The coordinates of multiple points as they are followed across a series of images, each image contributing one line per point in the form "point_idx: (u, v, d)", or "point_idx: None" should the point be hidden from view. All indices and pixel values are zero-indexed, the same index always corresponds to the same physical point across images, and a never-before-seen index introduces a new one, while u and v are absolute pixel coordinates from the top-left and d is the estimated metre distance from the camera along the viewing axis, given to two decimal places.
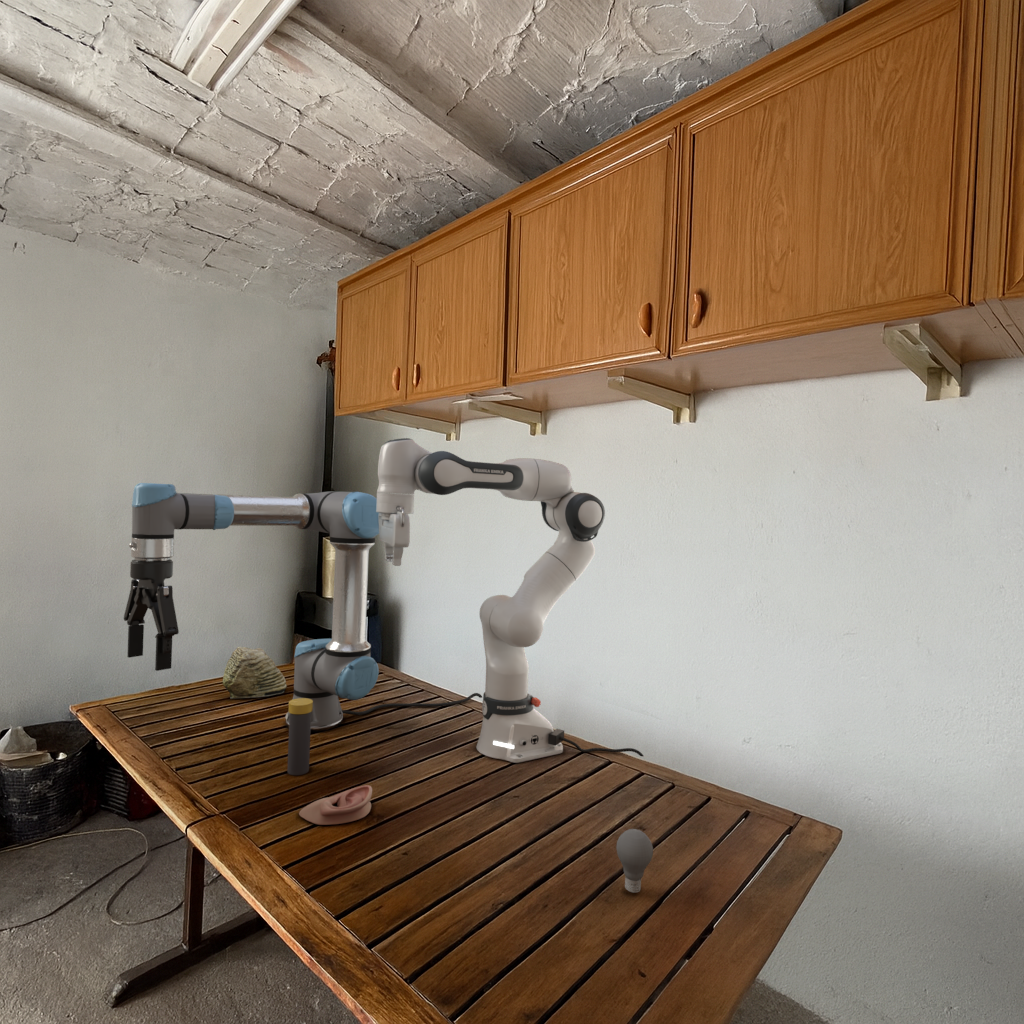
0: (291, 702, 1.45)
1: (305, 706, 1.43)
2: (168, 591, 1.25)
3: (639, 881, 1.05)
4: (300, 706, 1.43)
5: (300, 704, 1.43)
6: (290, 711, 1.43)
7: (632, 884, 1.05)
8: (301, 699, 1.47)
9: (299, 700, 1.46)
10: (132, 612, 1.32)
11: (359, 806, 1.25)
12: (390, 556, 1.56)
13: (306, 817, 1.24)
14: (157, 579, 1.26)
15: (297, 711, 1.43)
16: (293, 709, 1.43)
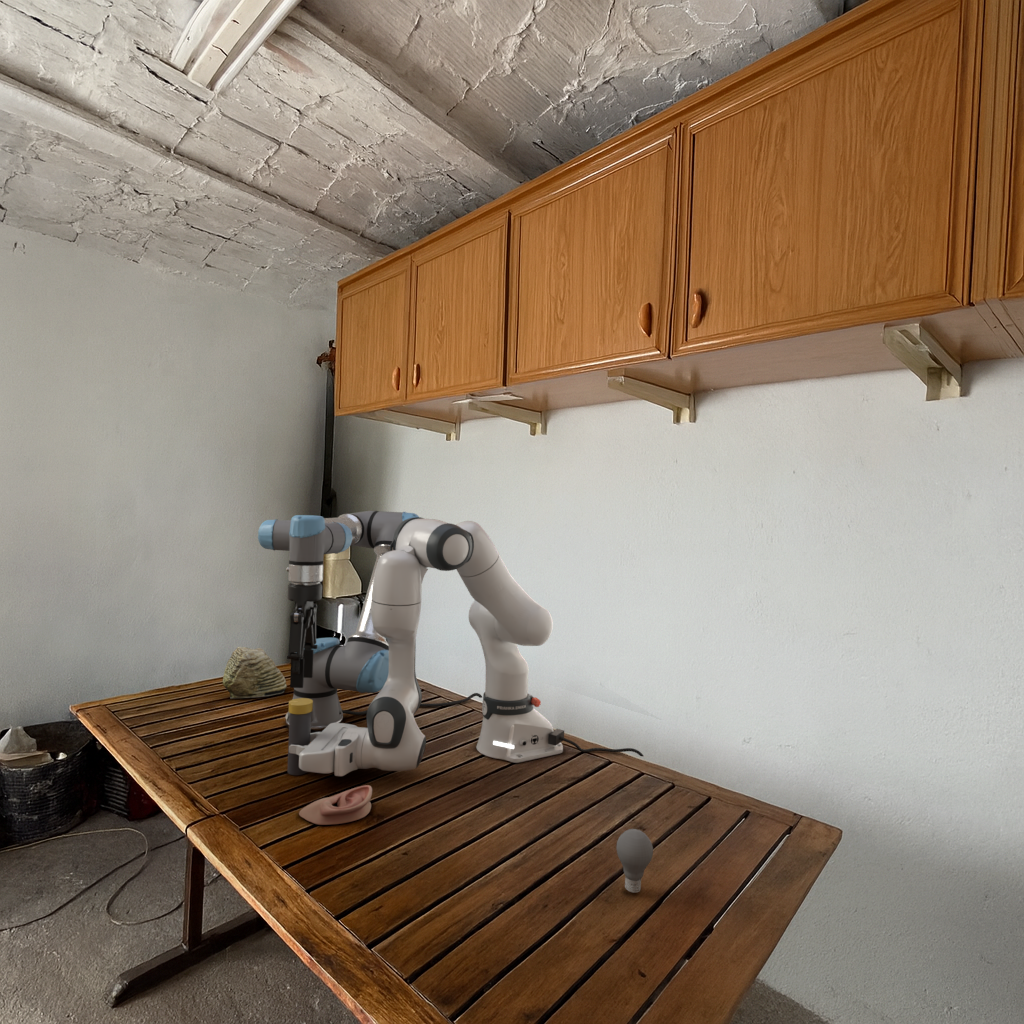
0: (291, 702, 1.45)
1: (305, 706, 1.43)
2: (298, 619, 1.38)
3: (639, 881, 1.05)
4: (300, 706, 1.43)
5: (301, 704, 1.43)
6: (290, 711, 1.43)
7: (632, 884, 1.05)
8: (301, 699, 1.47)
9: (299, 700, 1.46)
10: None
11: (359, 806, 1.25)
12: None
13: (306, 817, 1.24)
14: (298, 602, 1.41)
15: (297, 711, 1.43)
16: (294, 709, 1.43)
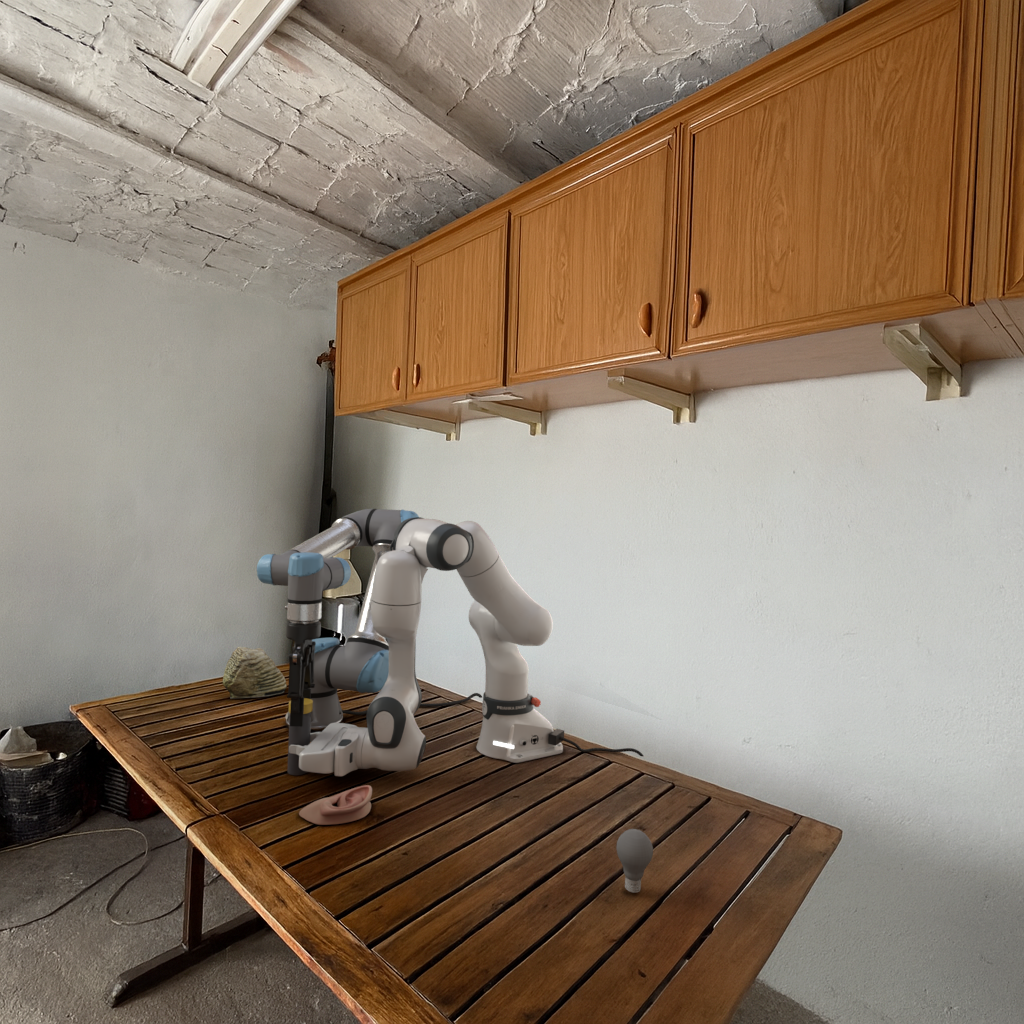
0: None
1: (305, 706, 1.43)
2: (296, 660, 1.39)
3: (639, 881, 1.05)
4: None
5: None
6: None
7: (632, 884, 1.05)
8: None
9: None
10: None
11: (359, 806, 1.25)
12: None
13: (306, 817, 1.24)
14: (297, 640, 1.41)
15: None
16: None
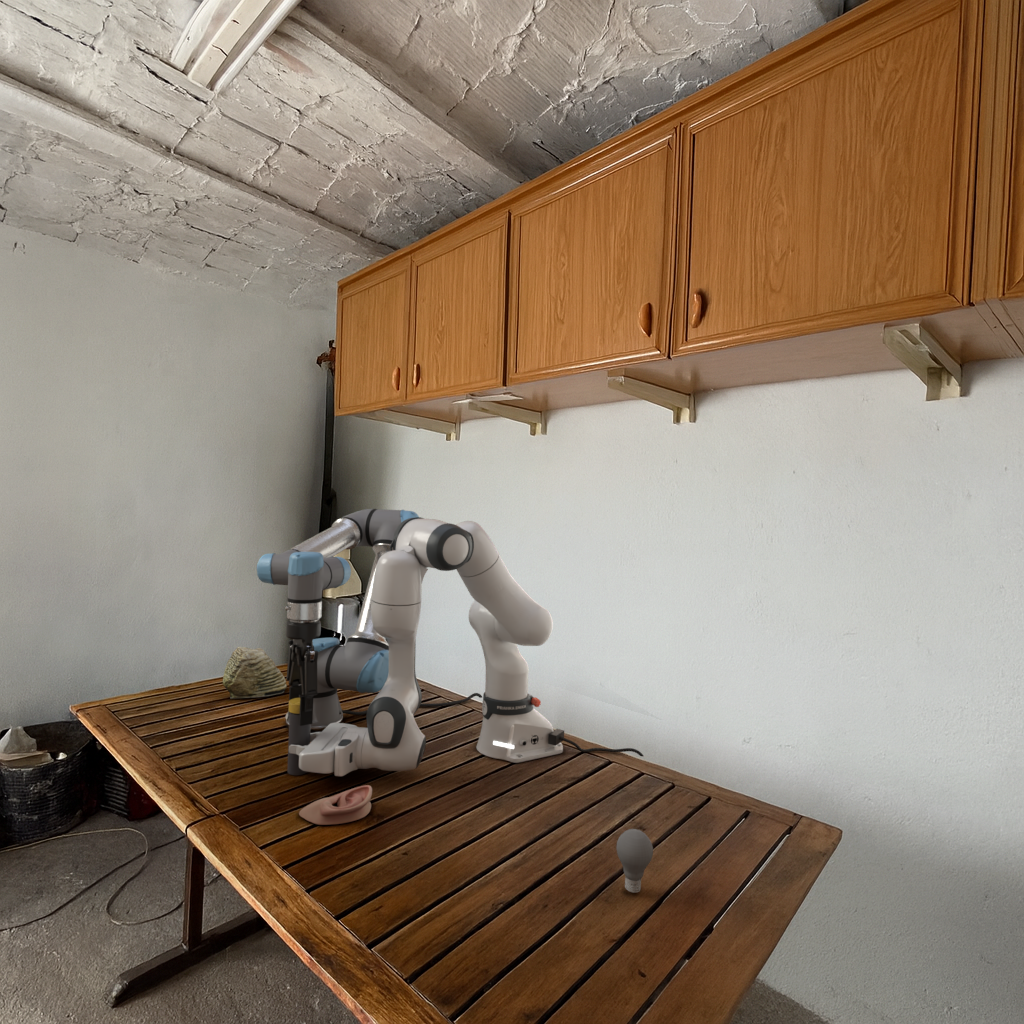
0: (299, 703, 1.43)
1: None
2: (314, 656, 1.40)
3: (639, 881, 1.05)
4: None
5: None
6: None
7: (632, 884, 1.05)
8: (293, 700, 1.45)
9: (296, 701, 1.45)
10: (291, 671, 1.48)
11: (359, 806, 1.25)
12: None
13: (306, 817, 1.24)
14: (307, 639, 1.42)
15: None
16: None
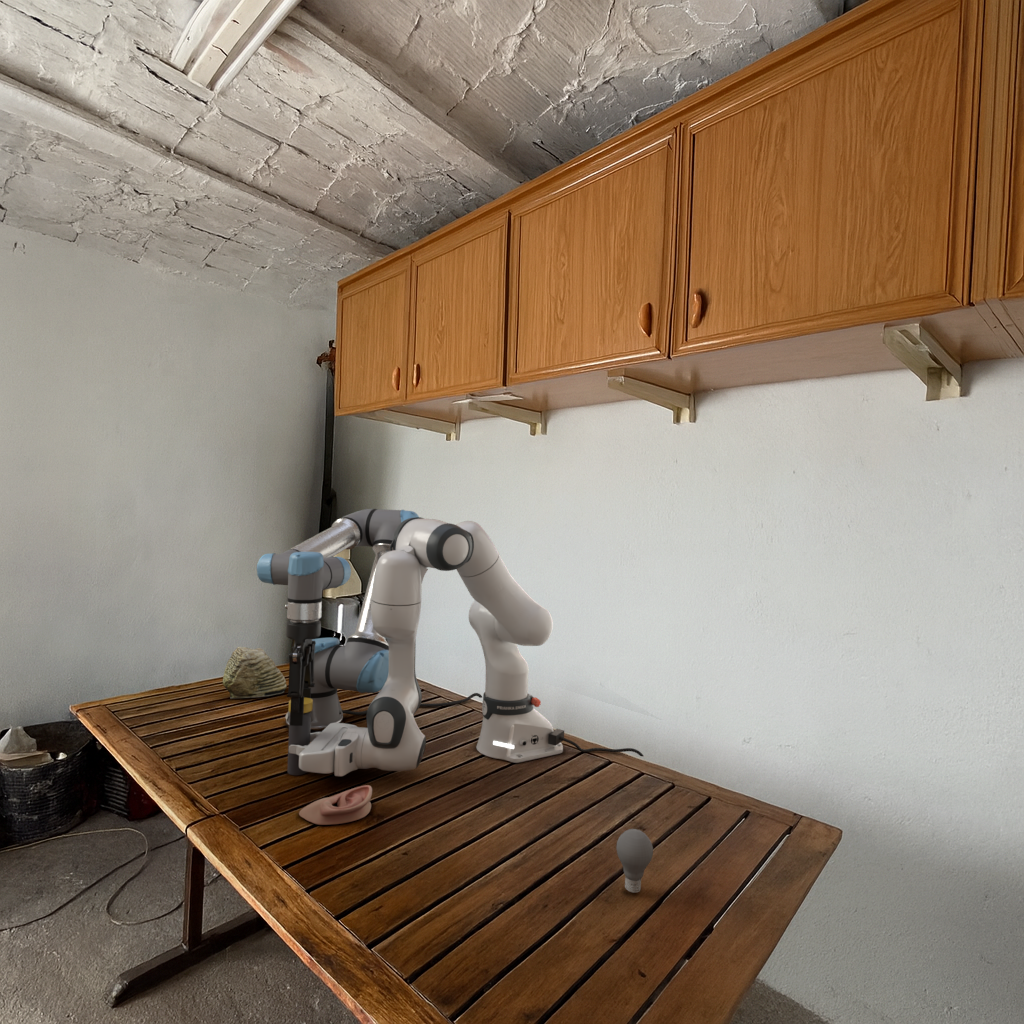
0: None
1: (312, 701, 1.47)
2: (296, 659, 1.39)
3: (639, 881, 1.05)
4: (312, 702, 1.46)
5: (309, 701, 1.46)
6: (304, 711, 1.43)
7: (632, 884, 1.05)
8: None
9: None
10: None
11: (359, 806, 1.25)
12: None
13: (306, 817, 1.24)
14: (297, 640, 1.41)
15: (311, 708, 1.45)
16: (308, 707, 1.44)
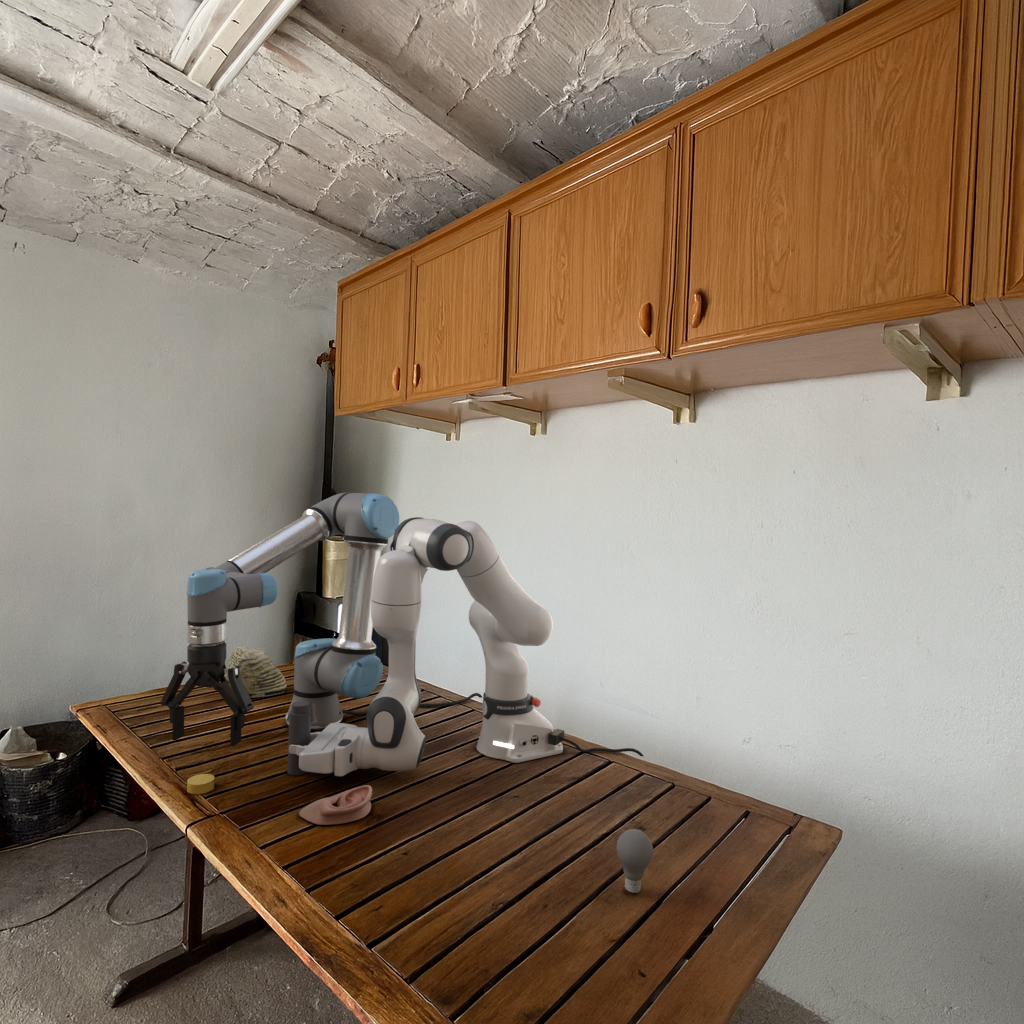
0: (210, 779, 1.35)
1: None
2: (237, 671, 1.34)
3: (639, 881, 1.05)
4: None
5: (206, 775, 1.37)
6: None
7: (632, 884, 1.05)
8: (195, 782, 1.33)
9: (199, 781, 1.34)
10: (179, 696, 1.35)
11: (359, 806, 1.25)
12: None
13: (306, 817, 1.24)
14: (222, 662, 1.34)
15: None
16: None
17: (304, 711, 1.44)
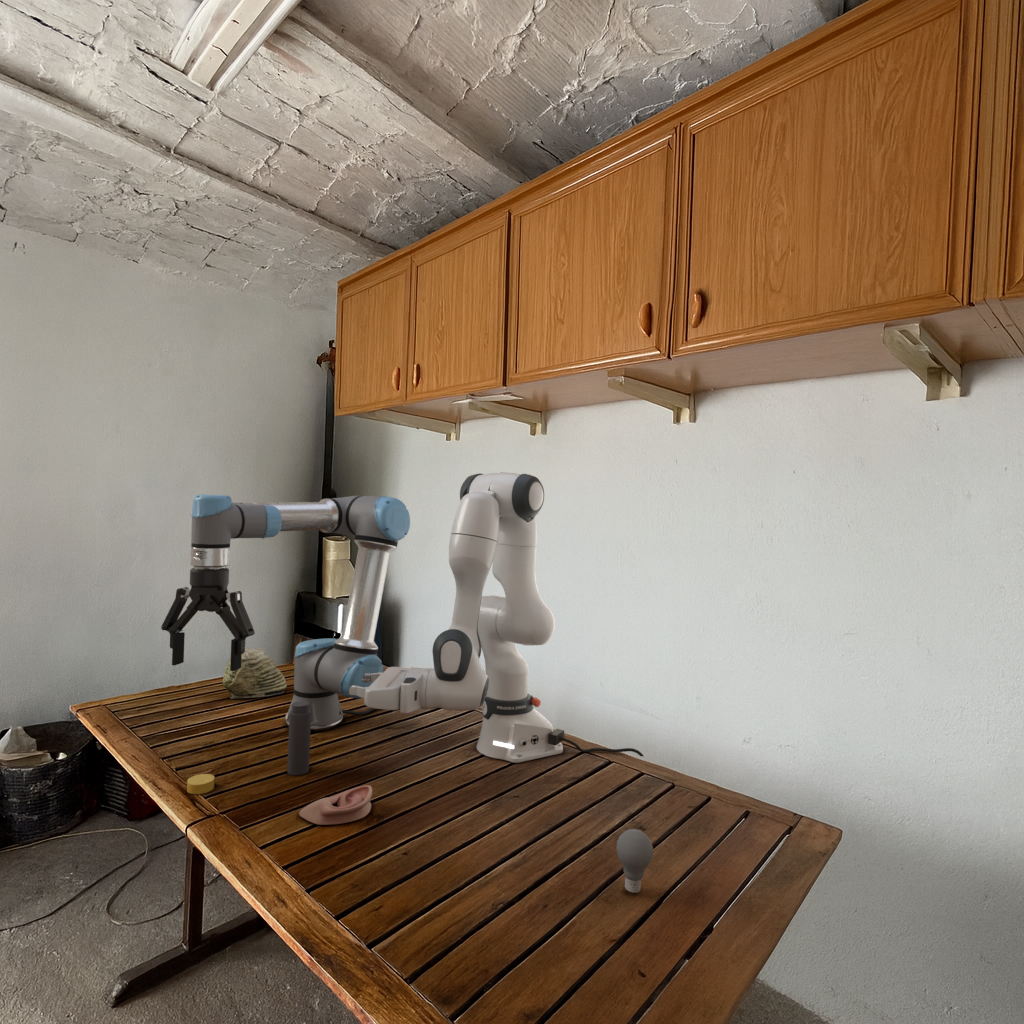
0: (210, 779, 1.35)
1: None
2: (239, 596, 1.34)
3: (639, 881, 1.05)
4: None
5: (206, 775, 1.37)
6: None
7: (632, 884, 1.05)
8: (195, 782, 1.33)
9: (199, 781, 1.34)
10: (180, 620, 1.34)
11: (359, 806, 1.25)
12: None
13: (306, 817, 1.24)
14: (224, 586, 1.34)
15: None
16: None
17: (304, 711, 1.44)
